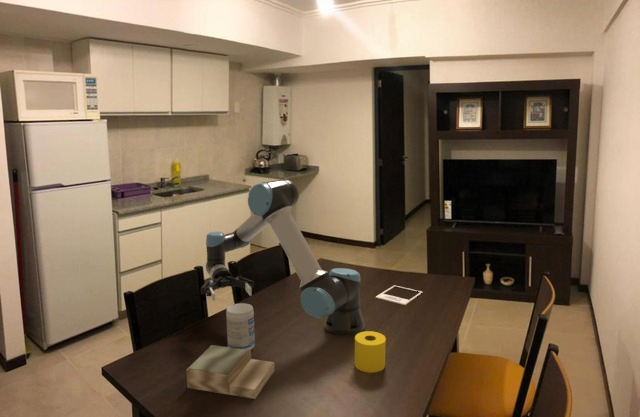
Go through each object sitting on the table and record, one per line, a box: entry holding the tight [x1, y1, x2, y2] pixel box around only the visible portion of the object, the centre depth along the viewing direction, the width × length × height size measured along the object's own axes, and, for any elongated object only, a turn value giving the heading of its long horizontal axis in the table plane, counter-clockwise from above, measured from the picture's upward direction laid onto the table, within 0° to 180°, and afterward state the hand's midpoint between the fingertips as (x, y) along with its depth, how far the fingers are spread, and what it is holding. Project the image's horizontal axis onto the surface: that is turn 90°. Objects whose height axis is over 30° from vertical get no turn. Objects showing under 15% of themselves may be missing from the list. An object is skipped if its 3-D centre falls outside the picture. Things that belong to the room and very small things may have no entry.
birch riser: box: [185, 344, 275, 400], centre depth 149 cm, size 22×16×6 cm
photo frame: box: [375, 285, 423, 306], centre depth 218 cm, size 15×1×18 cm
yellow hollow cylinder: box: [354, 330, 387, 373], centre depth 157 cm, size 10×10×9 cm
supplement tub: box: [225, 302, 256, 351], centre depth 169 cm, size 10×10×15 cm
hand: (232, 294), depth 176 cm, fingers open, 13 cm apart
